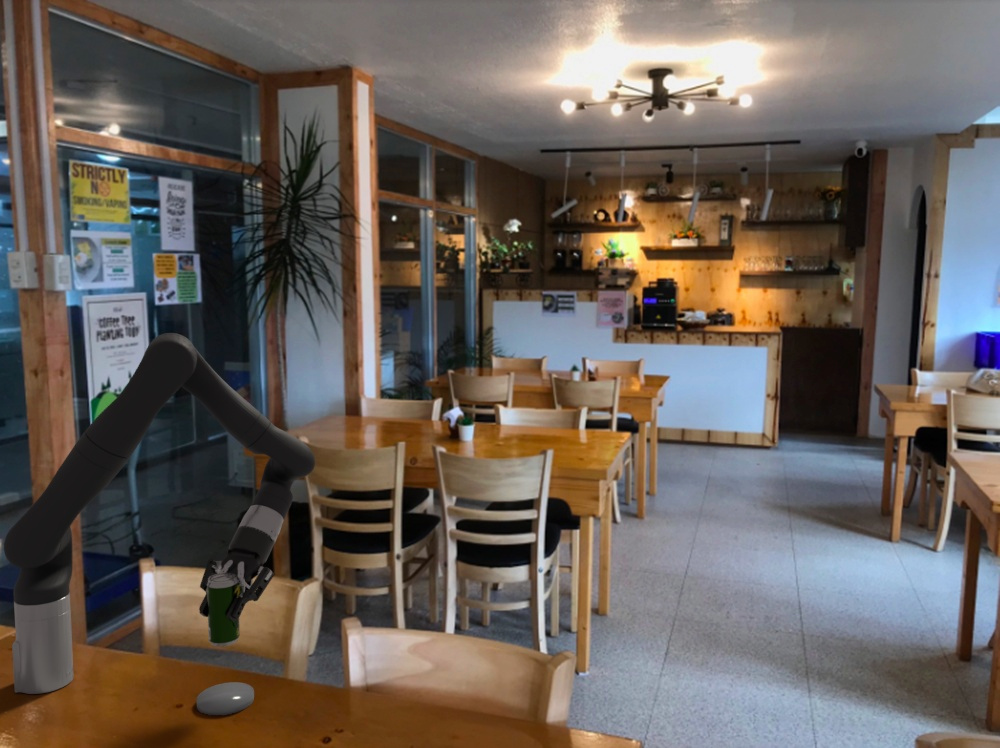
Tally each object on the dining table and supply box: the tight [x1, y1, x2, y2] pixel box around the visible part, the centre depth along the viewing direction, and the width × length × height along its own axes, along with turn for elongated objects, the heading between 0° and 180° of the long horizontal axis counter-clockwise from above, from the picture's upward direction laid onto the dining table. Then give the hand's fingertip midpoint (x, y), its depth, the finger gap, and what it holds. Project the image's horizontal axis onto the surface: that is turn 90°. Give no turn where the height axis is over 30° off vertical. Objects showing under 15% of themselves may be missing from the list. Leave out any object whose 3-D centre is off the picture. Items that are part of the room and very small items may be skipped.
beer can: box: [207, 573, 241, 647], centre depth 143 cm, size 5×5×12 cm
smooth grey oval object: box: [196, 681, 255, 716], centre depth 144 cm, size 10×10×1 cm
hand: (217, 617), depth 141 cm, fingers closed on beer can, 5 cm apart
